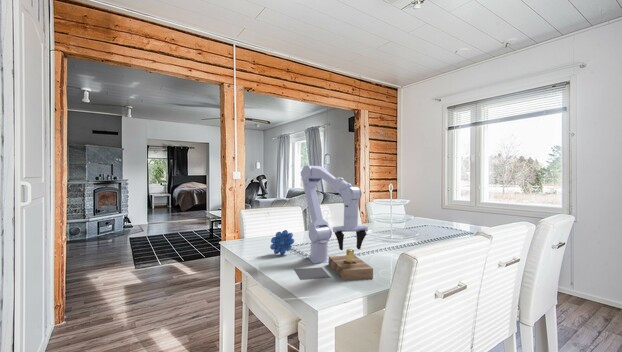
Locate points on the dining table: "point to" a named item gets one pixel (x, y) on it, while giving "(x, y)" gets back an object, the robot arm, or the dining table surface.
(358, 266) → the walnut block
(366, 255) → the dining table surface
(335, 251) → the dining table surface
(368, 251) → the dining table surface
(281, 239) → the blue thick lobed disc
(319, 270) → the rubber mat
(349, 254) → the brass pin
